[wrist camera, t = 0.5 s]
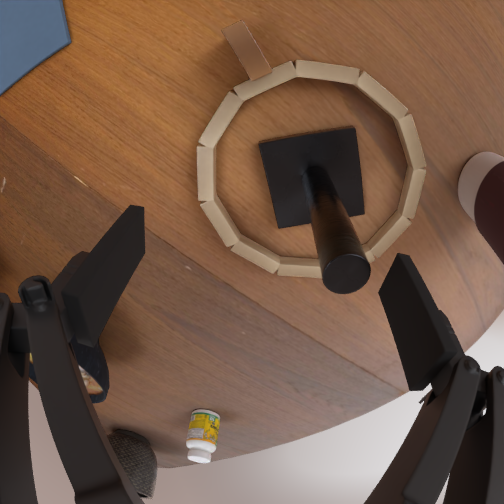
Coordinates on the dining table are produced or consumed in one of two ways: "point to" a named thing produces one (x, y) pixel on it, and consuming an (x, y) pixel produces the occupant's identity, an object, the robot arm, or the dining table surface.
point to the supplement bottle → (202, 435)
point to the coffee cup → (485, 197)
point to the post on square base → (321, 198)
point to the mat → (29, 36)
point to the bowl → (88, 369)
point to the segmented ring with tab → (265, 80)
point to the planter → (136, 460)
